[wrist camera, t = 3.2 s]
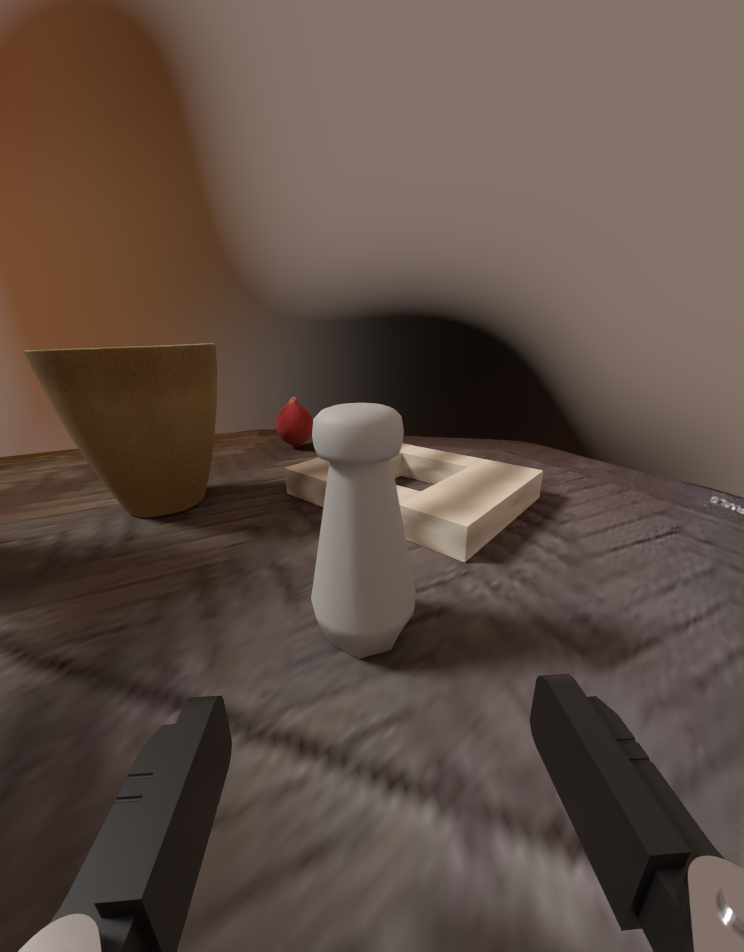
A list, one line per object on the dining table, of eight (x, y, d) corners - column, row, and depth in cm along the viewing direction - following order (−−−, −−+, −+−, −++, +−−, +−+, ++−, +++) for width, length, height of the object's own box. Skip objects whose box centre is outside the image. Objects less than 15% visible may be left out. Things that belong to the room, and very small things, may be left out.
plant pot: (186, 472, 50) (160, 344, 44) (266, 492, 42) (247, 342, 37) (50, 515, 38) (-7, 347, 32) (130, 554, 30) (73, 345, 25)
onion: (279, 453, 57) (273, 400, 55) (277, 444, 62) (272, 396, 60) (317, 450, 59) (313, 398, 56) (312, 441, 64) (308, 393, 61)
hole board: (287, 493, 42) (284, 467, 41) (379, 459, 53) (379, 439, 52) (464, 562, 28) (467, 526, 27) (539, 497, 39) (543, 470, 38)
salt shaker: (328, 595, 25) (314, 397, 21) (415, 600, 24) (419, 396, 20) (302, 666, 20) (275, 417, 15) (413, 676, 19) (418, 417, 14)
